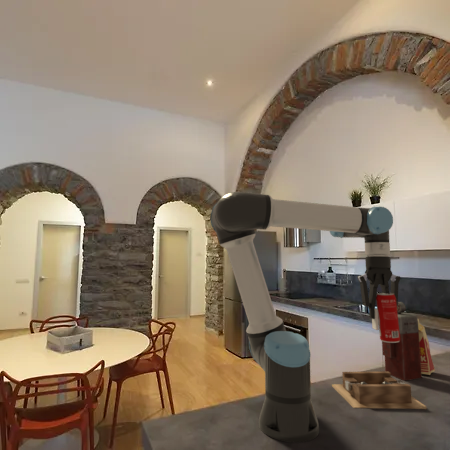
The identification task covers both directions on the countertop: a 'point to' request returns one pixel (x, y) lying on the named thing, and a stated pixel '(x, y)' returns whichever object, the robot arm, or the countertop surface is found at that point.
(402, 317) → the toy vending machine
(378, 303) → the beverage can
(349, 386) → the plunger
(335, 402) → the countertop surface
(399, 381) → the plunger
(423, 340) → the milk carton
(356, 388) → the holder
